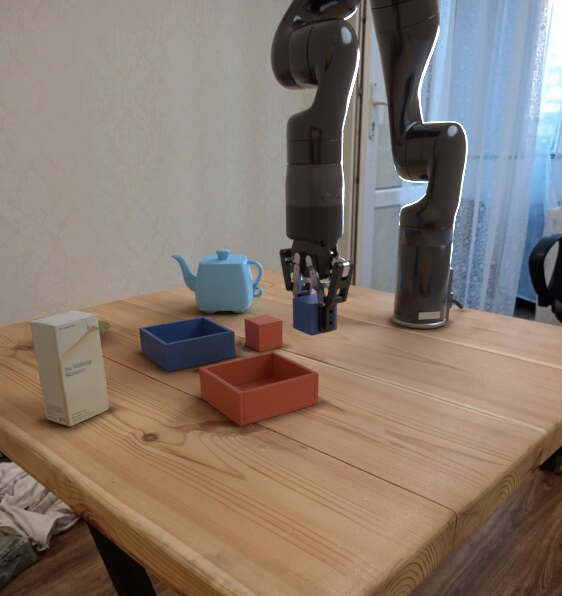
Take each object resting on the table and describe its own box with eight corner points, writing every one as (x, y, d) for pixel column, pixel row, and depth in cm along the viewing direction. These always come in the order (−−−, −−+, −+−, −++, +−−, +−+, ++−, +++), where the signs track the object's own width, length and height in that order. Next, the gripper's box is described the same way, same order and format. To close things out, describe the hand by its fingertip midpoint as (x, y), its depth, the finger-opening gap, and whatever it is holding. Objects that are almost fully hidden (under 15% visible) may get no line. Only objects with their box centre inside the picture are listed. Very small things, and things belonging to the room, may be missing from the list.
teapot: (179, 300, 121) (175, 245, 116) (265, 299, 120) (263, 244, 116) (167, 316, 109) (162, 256, 105) (262, 316, 109) (261, 255, 105)
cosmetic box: (69, 428, 66) (53, 326, 61) (44, 419, 68) (26, 321, 64) (111, 408, 71) (99, 313, 66) (87, 401, 73) (73, 308, 68)
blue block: (317, 322, 83) (317, 292, 82) (336, 329, 80) (337, 299, 78) (292, 328, 81) (292, 297, 79) (311, 336, 78) (311, 304, 76)
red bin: (273, 378, 79) (273, 350, 78) (318, 403, 72) (318, 373, 70) (200, 397, 74) (198, 367, 72) (240, 426, 66) (239, 394, 64)
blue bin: (205, 339, 96) (204, 316, 94) (235, 356, 88) (234, 331, 86) (141, 352, 90) (138, 327, 89) (167, 372, 82) (164, 345, 81)
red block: (268, 339, 96) (267, 314, 94) (282, 346, 92) (282, 320, 91) (245, 344, 93) (244, 318, 92) (259, 351, 90) (258, 324, 88)
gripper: (374, 202, 70) (369, 334, 77) (305, 195, 81) (306, 311, 88) (325, 207, 67) (324, 346, 73) (260, 199, 78) (264, 320, 84)
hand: (314, 326), depth 80 cm, fingers closed on blue block, 4 cm apart
